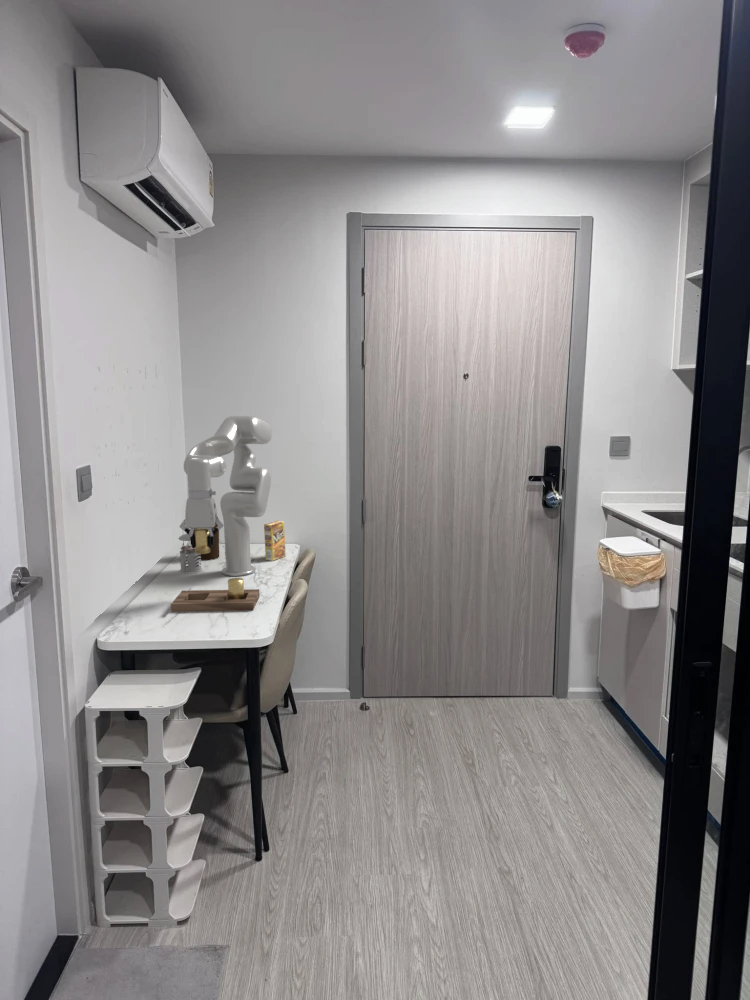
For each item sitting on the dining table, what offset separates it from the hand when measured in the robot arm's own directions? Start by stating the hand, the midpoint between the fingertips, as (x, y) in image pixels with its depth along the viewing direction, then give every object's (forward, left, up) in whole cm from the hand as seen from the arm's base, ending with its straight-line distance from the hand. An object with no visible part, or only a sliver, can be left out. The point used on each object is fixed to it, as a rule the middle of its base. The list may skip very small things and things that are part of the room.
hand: (202, 546), depth 224 cm
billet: (0, 0, -2) cm, 2 cm away
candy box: (-49, +19, -18) cm, 55 cm away
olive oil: (-52, -10, -18) cm, 56 cm away
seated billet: (+12, +13, -17) cm, 24 cm away
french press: (-30, -12, -18) cm, 37 cm away
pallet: (+12, +7, -18) cm, 22 cm away
